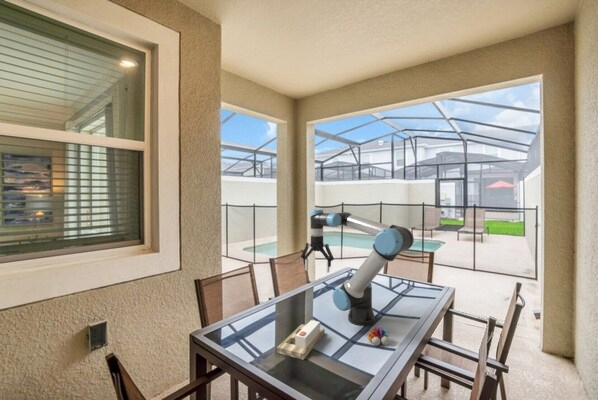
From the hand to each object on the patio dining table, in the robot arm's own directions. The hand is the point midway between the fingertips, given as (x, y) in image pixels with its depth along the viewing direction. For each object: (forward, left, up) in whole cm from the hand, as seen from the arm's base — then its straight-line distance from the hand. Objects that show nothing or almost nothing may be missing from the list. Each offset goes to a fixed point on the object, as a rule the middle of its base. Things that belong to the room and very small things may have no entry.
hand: (317, 271), depth 166 cm
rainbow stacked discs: (-38, +16, -27) cm, 49 cm away
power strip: (-8, +32, -26) cm, 42 cm away
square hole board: (-5, +32, -27) cm, 42 cm away
